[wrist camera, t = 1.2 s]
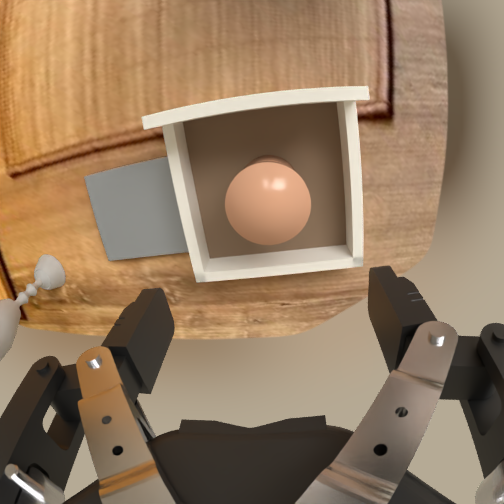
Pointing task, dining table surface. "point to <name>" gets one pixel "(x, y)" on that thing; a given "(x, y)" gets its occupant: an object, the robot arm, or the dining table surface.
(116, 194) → the slate tile
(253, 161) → the tan capped cylinder
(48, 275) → the chalice
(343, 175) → the drawer
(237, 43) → the dining table surface
